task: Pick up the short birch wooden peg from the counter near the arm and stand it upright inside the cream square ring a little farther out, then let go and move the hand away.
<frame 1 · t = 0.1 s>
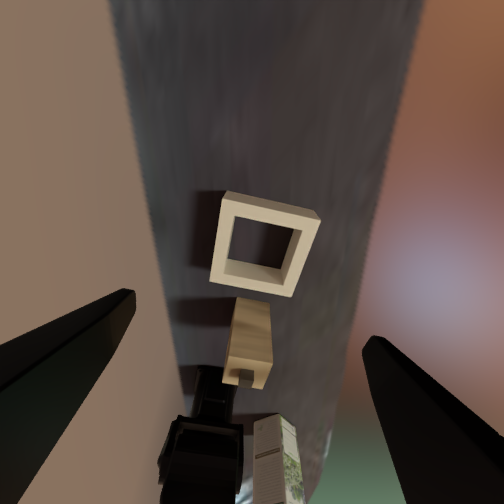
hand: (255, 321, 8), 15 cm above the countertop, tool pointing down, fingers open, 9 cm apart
syrup box: (274, 422, 40), on the countertop
cream square ring: (260, 239, 23), on the countertop
wooden peg: (249, 312, 27), on the countertop
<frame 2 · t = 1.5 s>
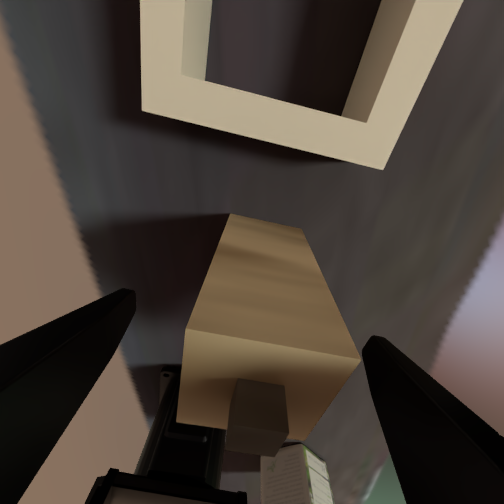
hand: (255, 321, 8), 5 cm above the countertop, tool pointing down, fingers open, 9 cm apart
syrup box: (293, 455, 25), on the countertop
cream square ring: (292, 16, 8), on the countertop
wooden peg: (258, 252, 13), on the countertop
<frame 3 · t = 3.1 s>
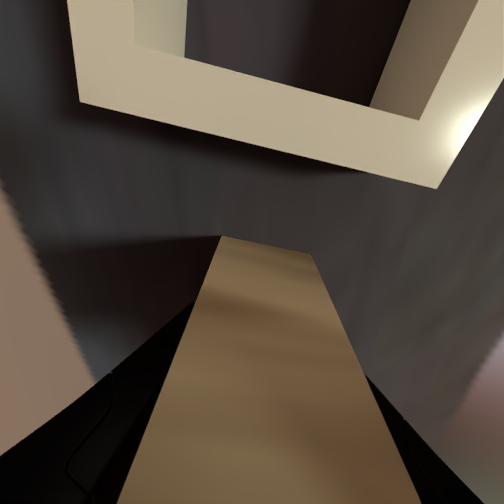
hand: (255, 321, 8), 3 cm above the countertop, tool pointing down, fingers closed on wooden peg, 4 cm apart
wooden peg: (256, 281, 10), on the countertop, touching gripper
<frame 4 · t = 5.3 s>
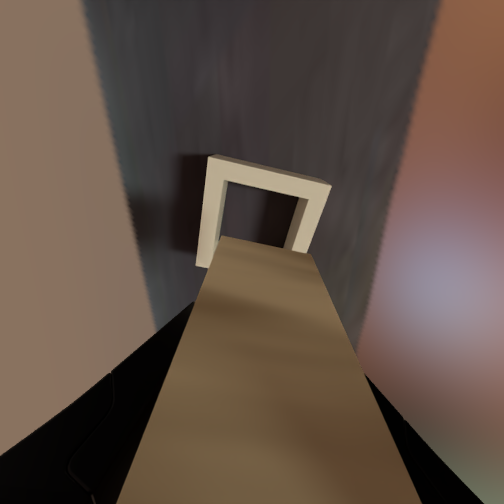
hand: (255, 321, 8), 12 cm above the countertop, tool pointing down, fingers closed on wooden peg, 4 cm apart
cream square ring: (257, 217, 19), on the countertop
wooden peg: (256, 281, 10), point 10 cm above the countertop, touching gripper
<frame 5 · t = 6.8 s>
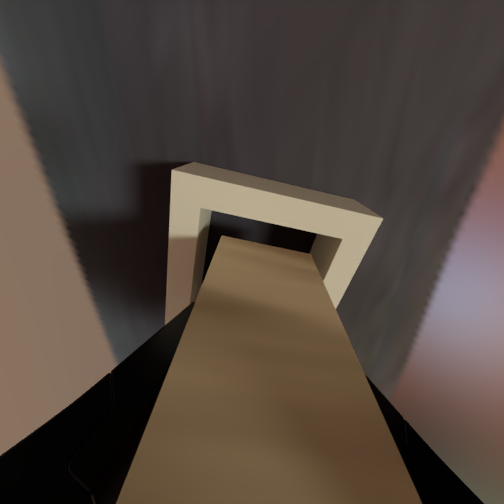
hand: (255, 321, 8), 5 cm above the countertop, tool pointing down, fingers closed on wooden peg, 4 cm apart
cream square ring: (257, 252, 13), on the countertop
wooden peg: (256, 281, 10), point 3 cm above the countertop, touching gripper
when the fingers open (5 cm above the countertop, at t = 8.0 s): wooden peg drops 3 cm, resting in cream square ring.
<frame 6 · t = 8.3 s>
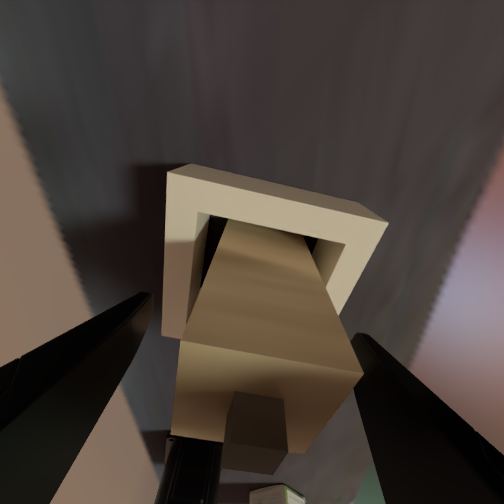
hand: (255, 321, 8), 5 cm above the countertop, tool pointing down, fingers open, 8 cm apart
syrup box: (278, 491, 30), on the countertop
cream square ring: (257, 256, 13), on the countertop
wooden peg: (257, 256, 13), resting in cream square ring
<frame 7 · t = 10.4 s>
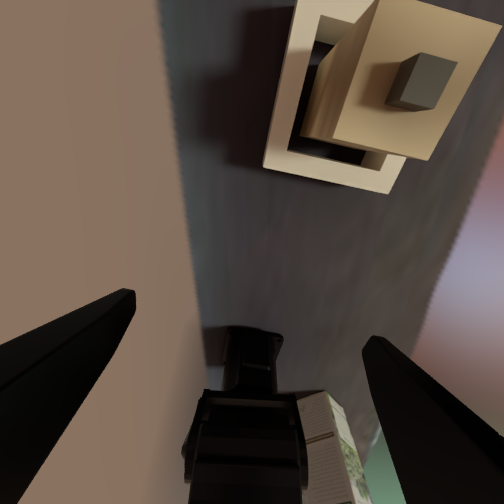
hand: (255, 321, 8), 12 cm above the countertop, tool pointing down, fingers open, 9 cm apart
syrup box: (317, 402, 32), on the countertop
cream square ring: (337, 109, 15), on the countertop
wooden peg: (336, 109, 15), resting in cream square ring
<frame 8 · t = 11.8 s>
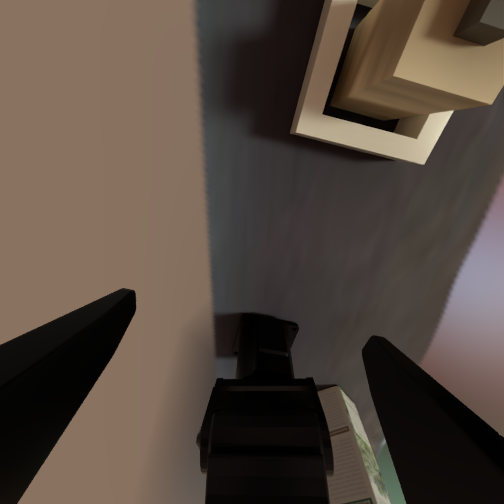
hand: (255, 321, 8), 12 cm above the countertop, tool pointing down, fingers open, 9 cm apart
syrup box: (328, 398, 31), on the countertop
cream square ring: (370, 77, 14), on the countertop
wooden peg: (370, 78, 14), resting in cream square ring
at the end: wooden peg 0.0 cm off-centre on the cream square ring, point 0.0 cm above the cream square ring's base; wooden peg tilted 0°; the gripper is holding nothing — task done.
